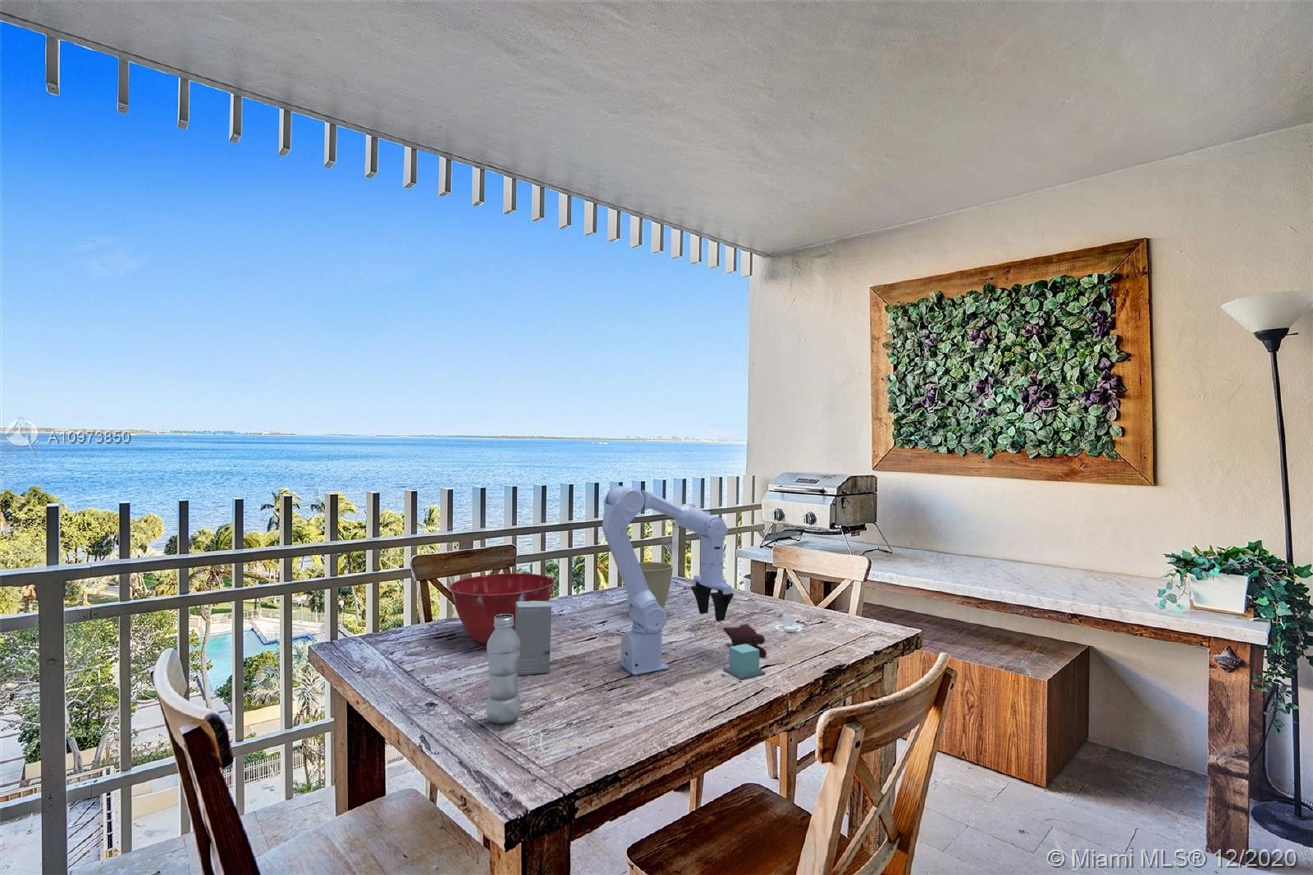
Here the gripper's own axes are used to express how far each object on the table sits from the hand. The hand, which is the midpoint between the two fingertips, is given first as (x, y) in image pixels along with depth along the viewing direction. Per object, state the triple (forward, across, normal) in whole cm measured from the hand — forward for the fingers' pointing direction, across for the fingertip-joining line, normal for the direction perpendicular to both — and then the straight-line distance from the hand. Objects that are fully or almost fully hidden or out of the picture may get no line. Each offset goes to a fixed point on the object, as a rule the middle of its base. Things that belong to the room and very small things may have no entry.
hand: (711, 616), depth 155 cm
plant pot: (+10, +40, -3) cm, 41 cm away
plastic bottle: (+10, -12, +56) cm, 58 cm away
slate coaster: (+10, -13, 0) cm, 16 cm away
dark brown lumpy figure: (+10, 0, -10) cm, 14 cm away
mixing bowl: (+10, +40, +43) cm, 60 cm away
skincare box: (+10, +12, +43) cm, 46 cm away
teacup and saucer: (+11, +10, -30) cm, 34 cm away
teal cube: (+9, -13, -1) cm, 16 cm away
